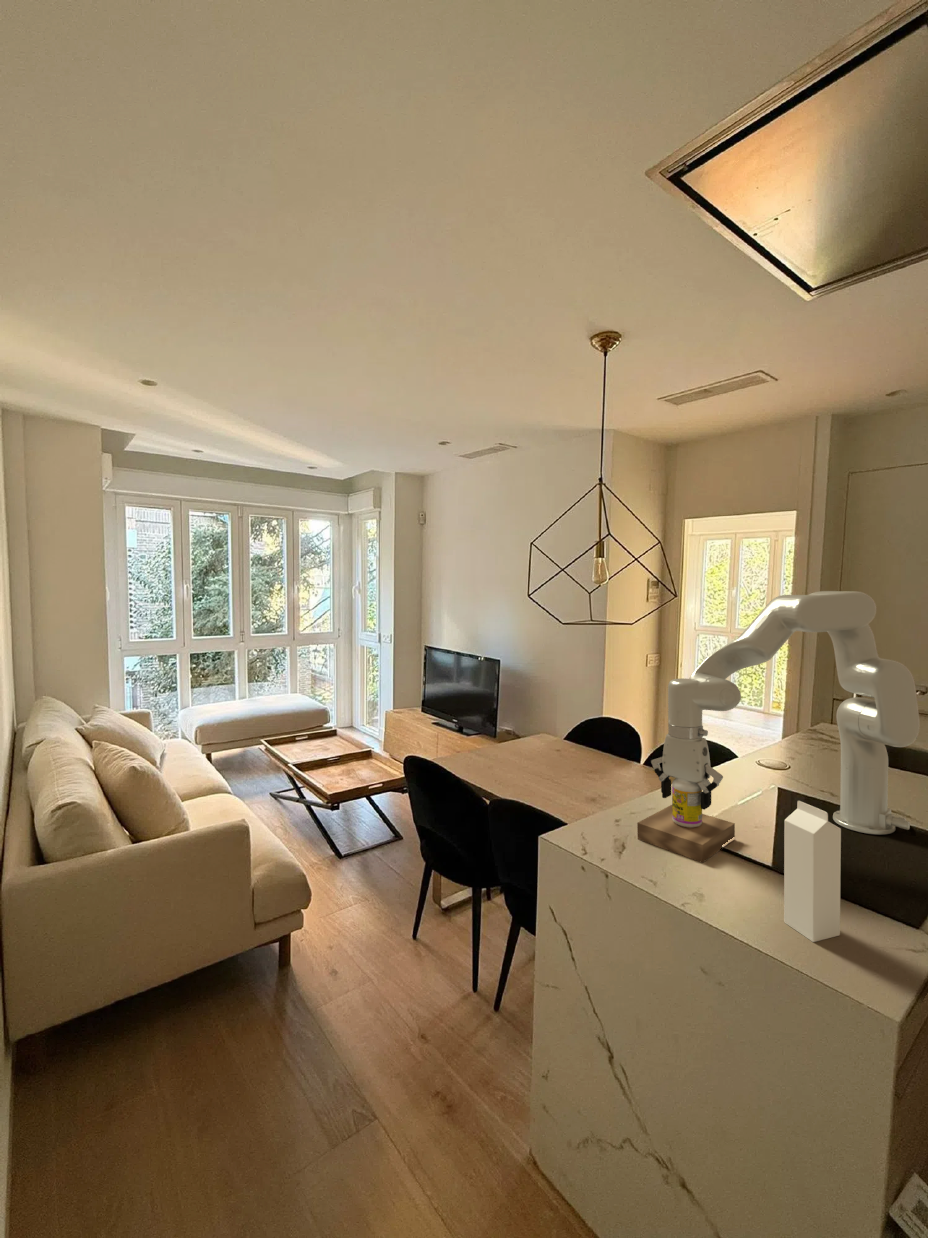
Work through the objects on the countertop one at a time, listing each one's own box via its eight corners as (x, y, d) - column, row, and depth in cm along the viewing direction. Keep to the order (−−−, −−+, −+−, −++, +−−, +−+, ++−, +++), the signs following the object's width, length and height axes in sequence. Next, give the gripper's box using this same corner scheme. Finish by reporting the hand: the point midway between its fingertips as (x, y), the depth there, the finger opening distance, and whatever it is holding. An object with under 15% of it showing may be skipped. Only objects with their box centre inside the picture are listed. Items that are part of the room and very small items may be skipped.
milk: (813, 943, 93) (813, 815, 92) (783, 922, 99) (783, 802, 98) (840, 935, 95) (841, 810, 94) (809, 915, 101) (810, 797, 100)
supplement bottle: (667, 817, 135) (667, 766, 135) (693, 816, 136) (693, 764, 135) (680, 829, 129) (679, 775, 128) (707, 827, 129) (707, 773, 129)
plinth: (734, 839, 132) (734, 823, 131) (702, 862, 121) (702, 845, 121) (671, 819, 144) (671, 804, 144) (637, 839, 133) (637, 822, 133)
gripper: (729, 735, 127) (729, 808, 128) (660, 722, 140) (660, 789, 141) (714, 741, 122) (714, 817, 123) (643, 728, 135) (644, 796, 136)
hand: (685, 802), depth 132 cm, fingers open, 9 cm apart
